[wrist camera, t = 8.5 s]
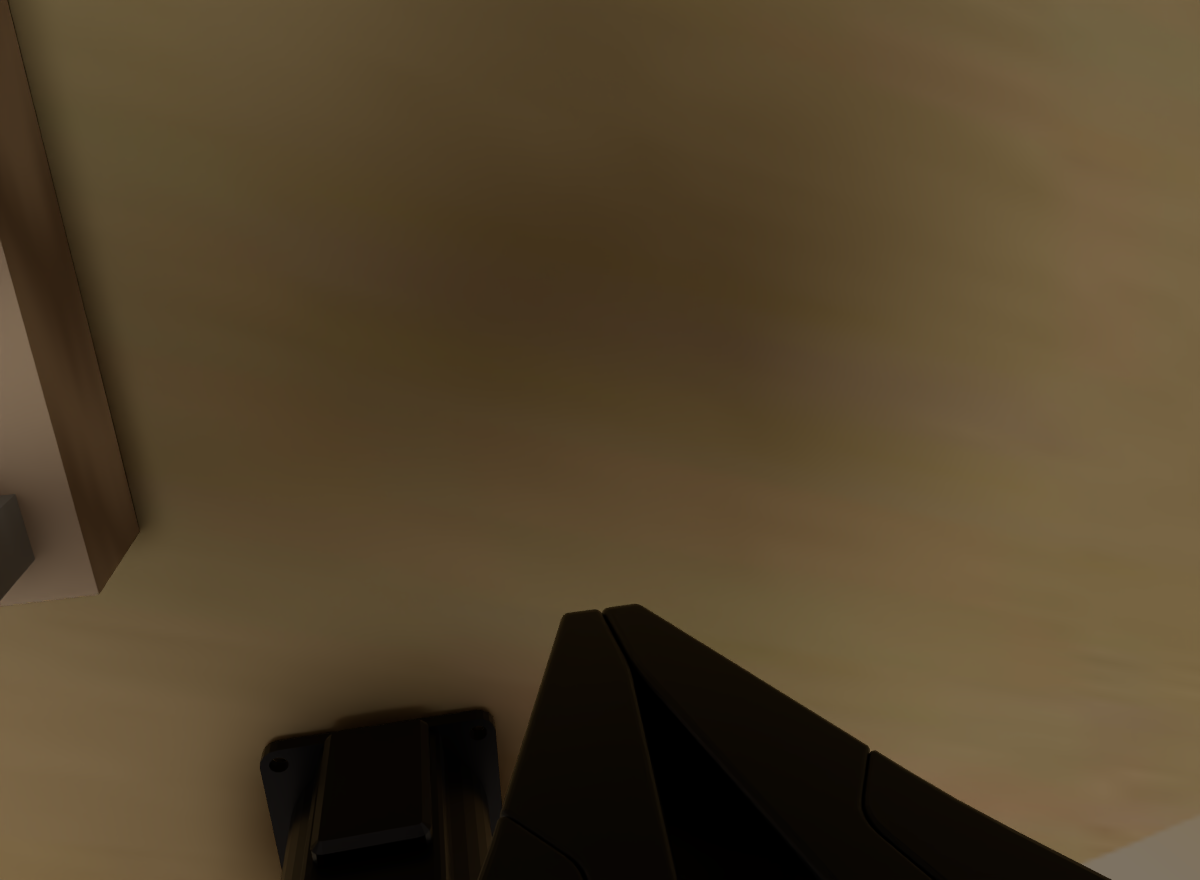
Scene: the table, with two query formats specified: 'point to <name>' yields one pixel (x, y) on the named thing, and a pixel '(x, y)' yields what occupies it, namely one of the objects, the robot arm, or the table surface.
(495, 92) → the table surface
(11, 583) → the channel board
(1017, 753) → the table surface
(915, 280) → the table surface
